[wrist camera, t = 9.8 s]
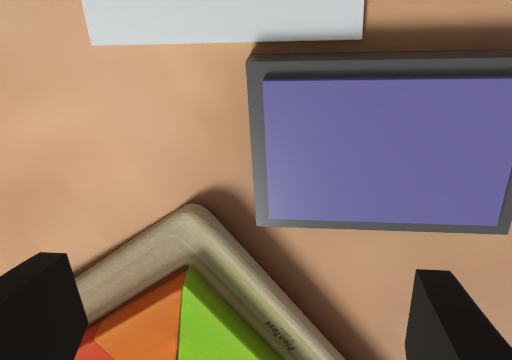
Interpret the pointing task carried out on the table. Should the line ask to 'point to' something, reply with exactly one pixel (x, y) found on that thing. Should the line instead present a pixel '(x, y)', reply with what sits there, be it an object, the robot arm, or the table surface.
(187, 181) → the table surface
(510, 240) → the table surface
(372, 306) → the table surface
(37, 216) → the table surface
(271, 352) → the wooden puzzle
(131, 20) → the card sheet
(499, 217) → the ink pad
